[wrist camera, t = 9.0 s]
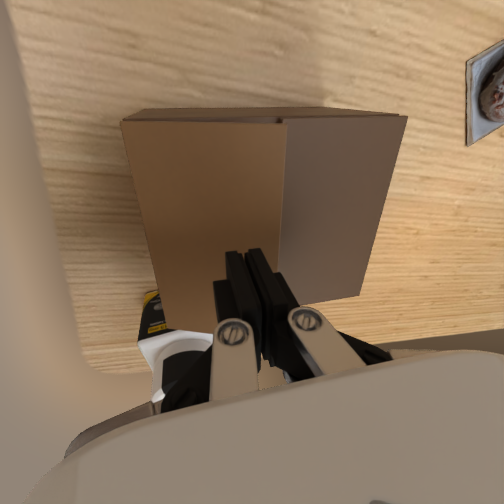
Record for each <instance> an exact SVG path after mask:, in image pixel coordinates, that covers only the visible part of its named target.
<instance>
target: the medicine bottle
mask: <svg viewBox="0 0 504 504" xmlns="http://www.w3.org/2000/svg"><path fill="white" fill-rule="evenodd" d="M212 343H213V334H207V333H199V332H191V331H183V330H176V329H168V328H167V324H166V320H165V315H164V311H163V307H162V302H161V298H160V294H159V290H158V291H154V292H150V293H147V294H146V295H145V300H144V306H143V312H142V318H141V324H140V330H139V336H138V342H137V345H138V347H139V349H140V351H141V352H142V354H143V356H144V357H145V359H146V361H147V362H148V364H149V366H150V368H151V369H152V371H153V378H152V379H153V380H152V389H151V400H152V402H153V403H155V402H157V401H159V400H162V399H163V398H164V396H165V395H166V394H167V392H168V391H169V390H170V389H171V388H172V387H173V386H174V384H175V383H176V382H177V381H178V380H179V379H180V378H181V377H182V376H183V375H184V374H185V373H186V371H187V370H188V369H189V368H190V367H191V366H192V365H193V364H194V363H195V362H196V361H197V360H198V358H199V357H200V356H201V355H202V354H203V353H204V352H205V351H206V350H207V349H208V348H209V347H210V345H211V344H212ZM151 400H150V401H151Z"/></svg>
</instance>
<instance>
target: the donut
mask: <svg viewBox="0 0 504 504" xmlns="http://www.w3.org/2000/svg"><path fill="white" fill-rule="evenodd" d="M466 74H467V75H466V77H467V78H466V79H467V87H468V92H467V103H468V104H467V111H466V112H467V124H468V125H467V147H469V146H471V145H472V144H474V143H475V142H477V141H478V140H480V139H482V138H483V137H485V136H487V135H488V134H490V133H491V132H493V131H495V130H496V129H498V128H500V127H501V126H503V125H504V40H502V41H501V42H499V43H497V44H496V45H494V46H492V47H491V48H489V49H488V50H486V51H483V52H482V53H480V54H479V55H477V56H476V57H474V58H472V59H470V60H468V61H467V72H466Z"/></svg>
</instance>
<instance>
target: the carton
mask: <svg viewBox="0 0 504 504" xmlns="http://www.w3.org/2000/svg"><path fill="white" fill-rule="evenodd" d="M407 119H408V116H399V114H394V113H383V112H372V111H362V110H351V109H340V108H330V107H271V108H169V109H143V110H141V111H139V112H137V113H135V114H132V115H130V116H128V117H126V118H124V119H123V121H173V122H234V123H287V139H286V154H285V170H284V186H283V201H282V217H281V233H280V248H279V264H278V272H281V274H282V275H283V277H284V279H285V280H286V282H287V284H288V286H289V288H290V289H291V291H292V293H293V295H294V296H295V298H296V300H297V302H298V304H299V305H300V306H301V305H307V304H313V303H318V302H324V301H330V300H336V299H342V298H348V297H354V296H359V294H360V291H361V287H362V283H363V280H364V276H365V272H366V269H367V265H368V262H369V258H370V254H371V251H372V247H373V243H374V240H375V236H376V232H377V229H378V225H379V221H380V218H381V214H382V210H383V207H384V203H385V200H386V196H387V192H388V189H389V185H390V181H391V178H392V174H393V170H394V167H395V163H396V159H397V156H398V152H399V148H400V145H401V141H402V137H403V134H404V130H405V127H406V123H407Z"/></svg>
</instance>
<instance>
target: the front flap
mask: <svg viewBox="0 0 504 504" xmlns="http://www.w3.org/2000/svg"><path fill="white" fill-rule="evenodd" d="M120 126H121V131H122V135H123V139H124V144H125V148H126V152H127V156H128V161H129V165H130V169H131V174H132V178H133V182H134V187H135V191H136V195H137V199H138V204H139V208H140V212H141V217H142V221H143V225H144V229H145V234H146V238H147V242H148V247H149V251H150V255H151V259H152V264H153V268H154V272H155V277H156V281H157V285H158V290H159V294H160V298H161V302H162V307H163V311H164V315H165V320H166V324H167V328H168V329H176V330H183V331H191V332H199V333H207V334H213V332H214V329H215V327H216V326H217V324H218V321H217V315H216V309H215V301H214V292H213V281H217V280H224V279H226V264H225V252H228V251H237V252H238V253H242V255H243V258H244V253H245V252H248V249H253V248H261V250H262V252H263V254H264V256H265V258H266V260H267V262H268V264H269V265H270V267H271V269H272V271H273V273H275V272H278V264H279V248H280V233H281V217H282V201H283V186H284V170H285V154H286V139H287V123H234V122H173V121H120Z"/></svg>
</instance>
